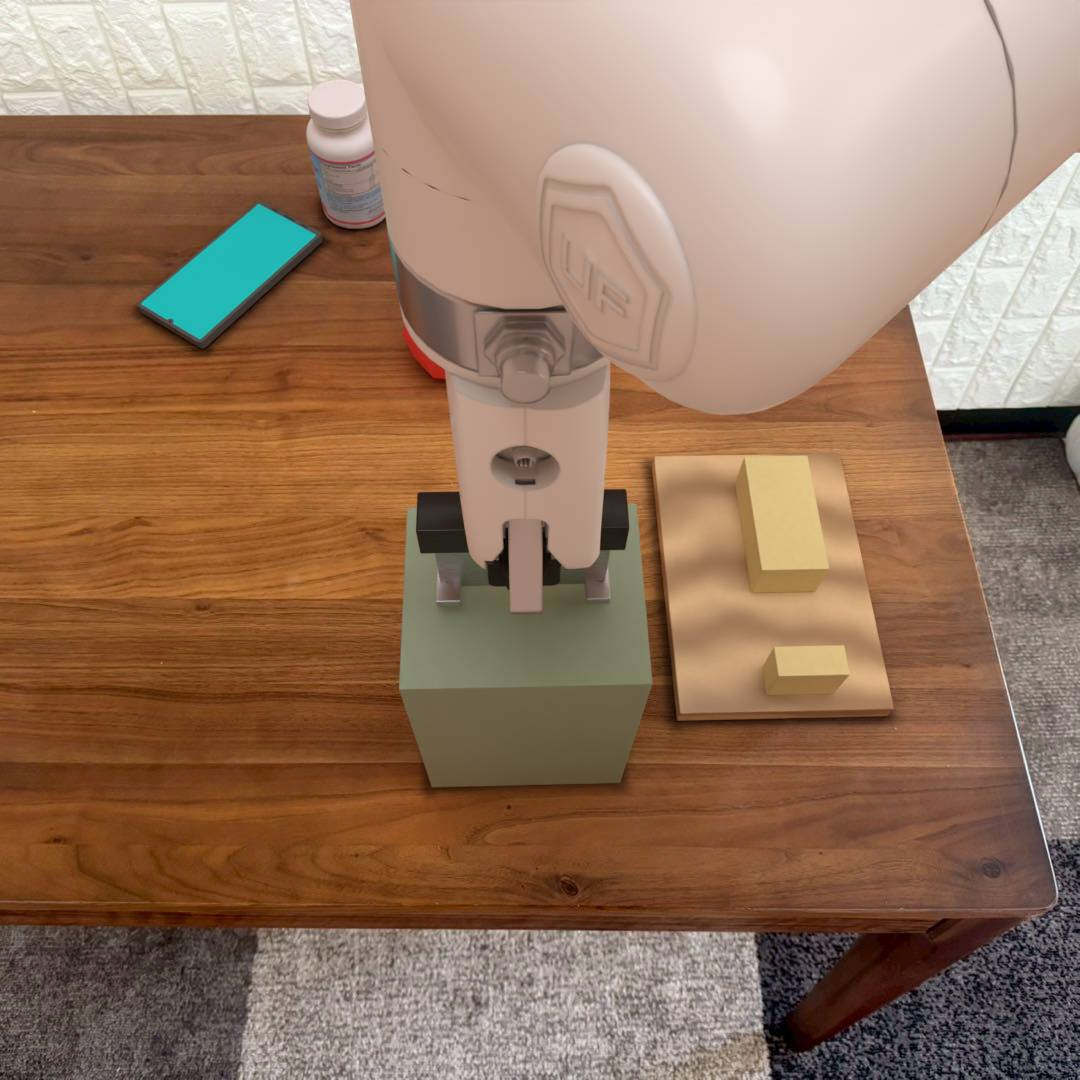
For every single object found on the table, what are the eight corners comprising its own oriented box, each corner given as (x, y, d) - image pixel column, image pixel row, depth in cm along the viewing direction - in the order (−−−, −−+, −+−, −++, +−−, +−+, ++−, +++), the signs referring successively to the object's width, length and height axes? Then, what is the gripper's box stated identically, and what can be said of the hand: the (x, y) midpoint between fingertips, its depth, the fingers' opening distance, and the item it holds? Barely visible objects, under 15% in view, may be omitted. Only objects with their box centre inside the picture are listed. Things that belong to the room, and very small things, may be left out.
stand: (620, 783, 61) (652, 683, 45) (431, 787, 61) (398, 689, 45) (610, 638, 66) (636, 503, 50) (435, 641, 66) (407, 506, 50)
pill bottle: (334, 180, 87) (310, 68, 78) (399, 189, 87) (383, 77, 77) (315, 227, 85) (287, 116, 75) (382, 237, 84) (362, 127, 74)
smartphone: (322, 233, 83) (200, 343, 77) (324, 240, 84) (203, 350, 78) (259, 198, 85) (134, 303, 79) (261, 206, 86) (138, 310, 79)
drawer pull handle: (616, 604, 46) (630, 532, 40) (430, 607, 46) (415, 536, 40) (613, 560, 48) (626, 484, 41) (431, 563, 47) (417, 487, 41)
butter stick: (815, 591, 66) (829, 568, 63) (750, 593, 66) (761, 570, 63) (795, 481, 71) (807, 455, 68) (734, 482, 70) (744, 456, 67)
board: (887, 716, 64) (894, 709, 62) (676, 721, 63) (679, 713, 62) (834, 463, 73) (839, 452, 72) (651, 466, 73) (653, 455, 72)
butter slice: (834, 693, 63) (850, 674, 60) (766, 695, 63) (778, 676, 59) (829, 665, 64) (844, 644, 61) (761, 666, 64) (773, 646, 60)
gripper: (675, 486, 24) (616, 718, 40) (630, 82, 32) (595, 412, 48) (378, 491, 24) (437, 722, 40) (404, 83, 32) (445, 414, 48)
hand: (523, 552), depth 44 cm, fingers closed on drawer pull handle, 2 cm apart
